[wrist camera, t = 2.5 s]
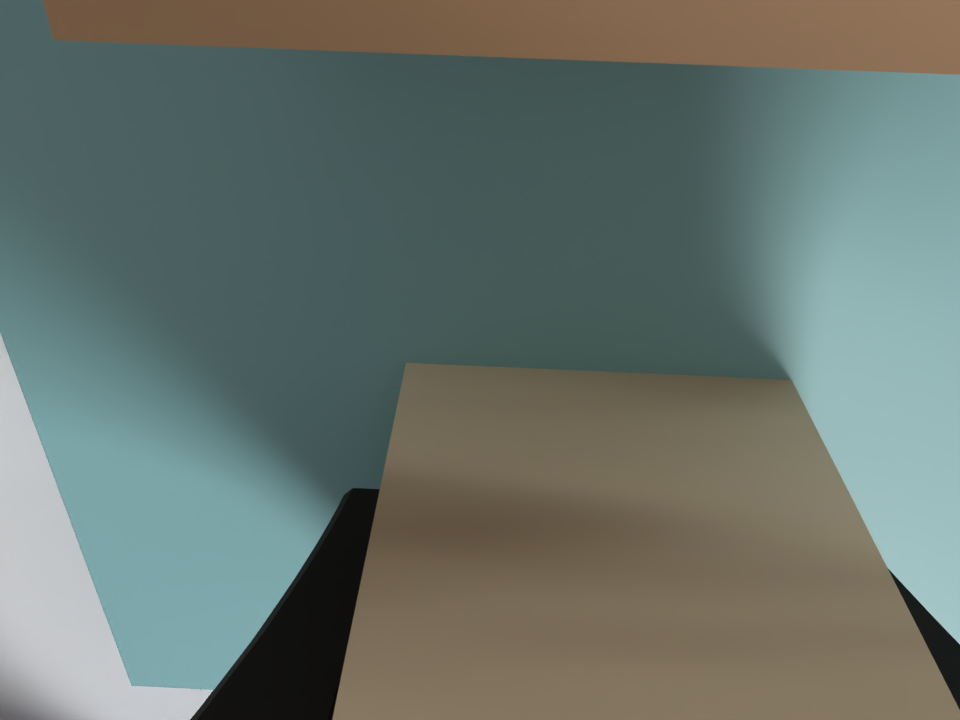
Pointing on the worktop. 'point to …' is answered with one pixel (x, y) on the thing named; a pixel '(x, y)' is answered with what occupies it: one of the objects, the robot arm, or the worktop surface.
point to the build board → (445, 284)
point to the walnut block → (550, 29)
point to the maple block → (623, 559)
